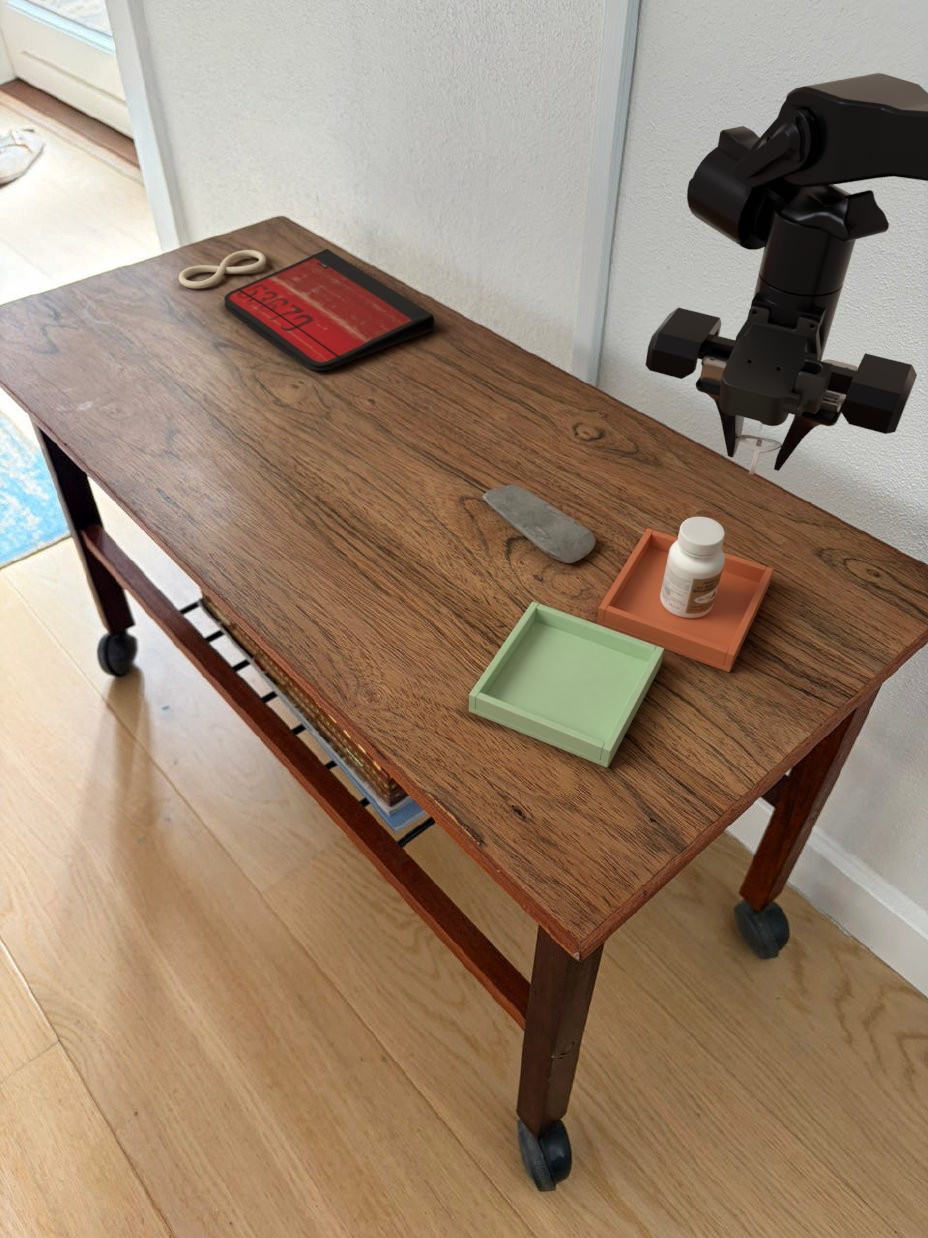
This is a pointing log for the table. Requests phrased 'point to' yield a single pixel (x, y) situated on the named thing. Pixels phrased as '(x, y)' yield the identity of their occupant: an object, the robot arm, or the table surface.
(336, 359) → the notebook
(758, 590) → the terracotta tray
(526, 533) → the stone
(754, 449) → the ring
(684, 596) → the pill bottle
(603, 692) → the sage tray
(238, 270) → the decorative object
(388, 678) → the table surface
